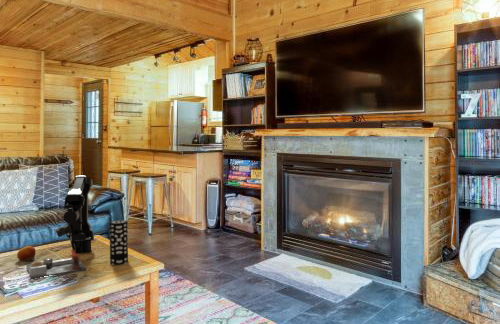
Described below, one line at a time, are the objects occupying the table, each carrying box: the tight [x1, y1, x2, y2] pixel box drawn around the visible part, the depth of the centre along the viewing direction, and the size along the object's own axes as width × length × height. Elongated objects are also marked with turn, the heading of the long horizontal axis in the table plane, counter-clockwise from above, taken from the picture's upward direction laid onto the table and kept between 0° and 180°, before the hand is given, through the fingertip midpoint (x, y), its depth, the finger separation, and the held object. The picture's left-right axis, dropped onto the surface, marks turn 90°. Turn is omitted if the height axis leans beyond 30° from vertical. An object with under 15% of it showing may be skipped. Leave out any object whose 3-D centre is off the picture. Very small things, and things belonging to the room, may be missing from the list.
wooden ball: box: [31, 260, 44, 267], centre depth 173 cm, size 5×5×5 cm
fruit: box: [16, 245, 37, 262], centre depth 195 cm, size 8×8×8 cm
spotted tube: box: [109, 219, 129, 266], centre depth 191 cm, size 8×8×20 cm
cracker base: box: [26, 257, 87, 280], centre depth 182 cm, size 22×22×4 cm
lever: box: [32, 248, 80, 267], centre depth 184 cm, size 20×4×6 cm, turn 129°
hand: (75, 251), depth 188 cm, fingers open, 9 cm apart
